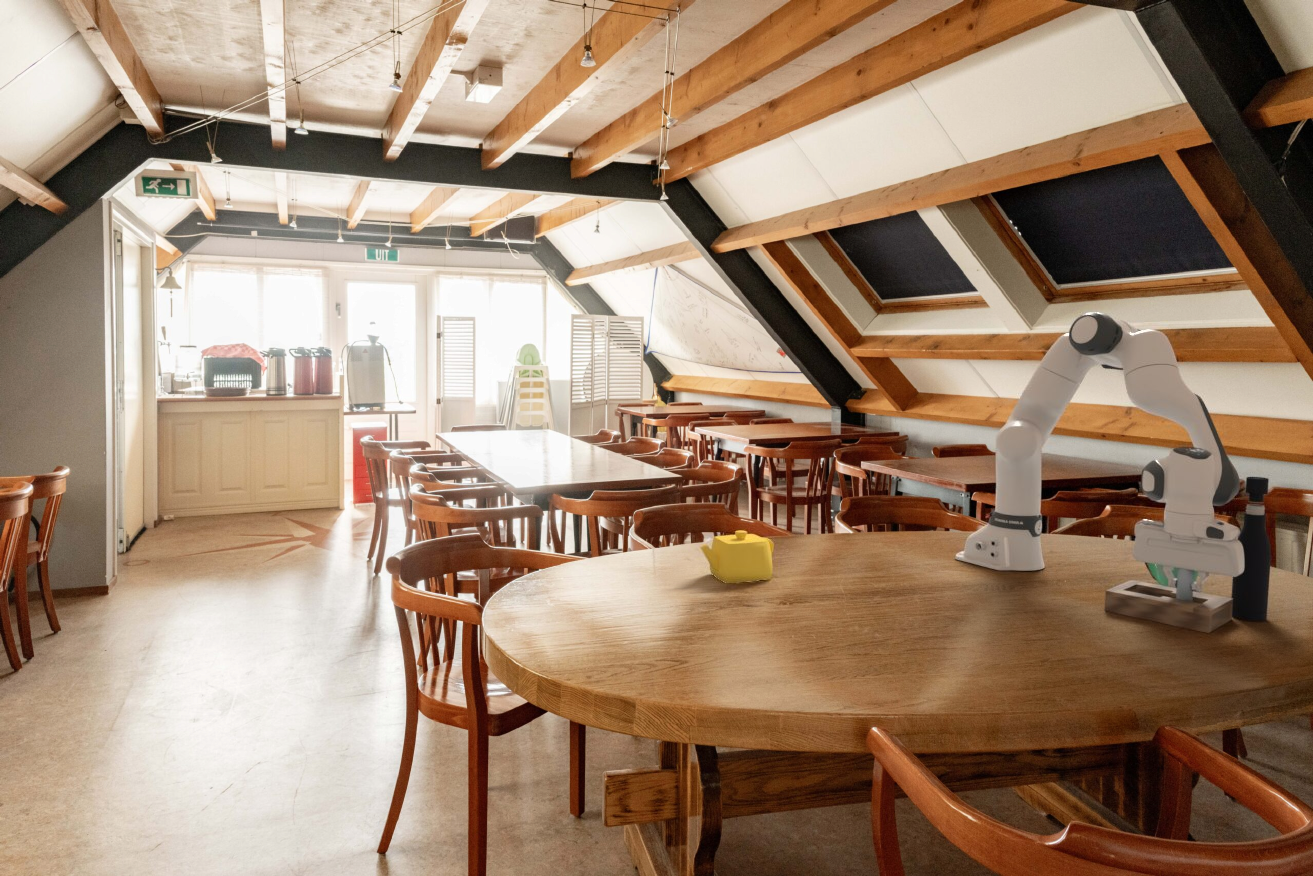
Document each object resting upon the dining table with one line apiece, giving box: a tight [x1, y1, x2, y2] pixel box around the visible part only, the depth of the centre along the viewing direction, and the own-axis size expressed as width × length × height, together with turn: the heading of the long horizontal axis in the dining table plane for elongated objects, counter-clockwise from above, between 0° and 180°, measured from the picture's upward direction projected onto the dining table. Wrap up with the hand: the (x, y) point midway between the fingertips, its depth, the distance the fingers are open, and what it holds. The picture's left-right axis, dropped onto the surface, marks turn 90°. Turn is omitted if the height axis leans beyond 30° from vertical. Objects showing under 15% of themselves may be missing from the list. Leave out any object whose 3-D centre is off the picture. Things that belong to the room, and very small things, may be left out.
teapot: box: [699, 530, 775, 584], centre depth 214 cm, size 20×12×12 cm, turn 109°
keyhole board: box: [1104, 579, 1233, 634], centre depth 182 cm, size 20×14×4 cm
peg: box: [1176, 568, 1194, 602], centre depth 180 cm, size 6×6×12 cm
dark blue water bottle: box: [1230, 476, 1272, 623], centre depth 180 cm, size 6×6×30 cm
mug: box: [1144, 562, 1199, 586], centre depth 201 cm, size 15×10×10 cm
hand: (1184, 589), depth 180 cm, fingers closed on peg, 3 cm apart
